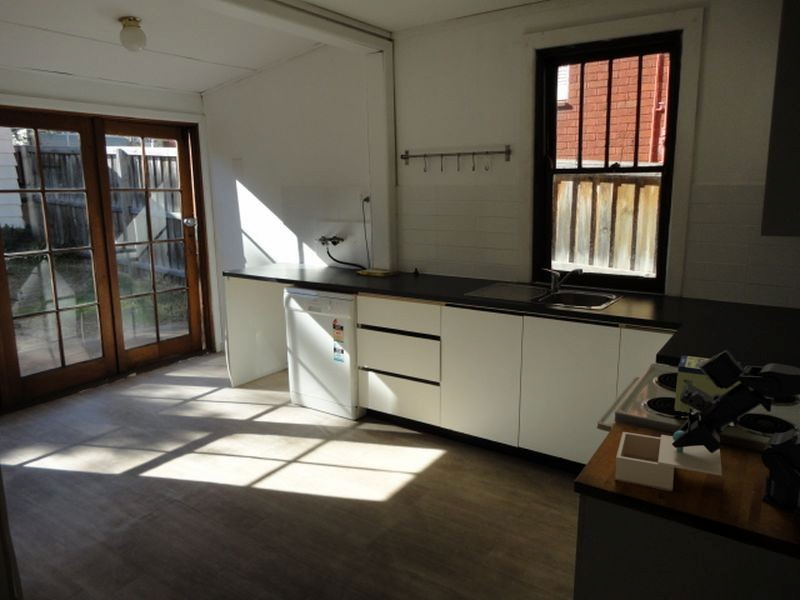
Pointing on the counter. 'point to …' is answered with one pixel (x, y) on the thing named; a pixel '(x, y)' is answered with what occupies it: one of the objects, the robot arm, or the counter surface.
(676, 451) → the carton lid
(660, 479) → the carton
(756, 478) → the counter surface
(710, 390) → the protein box
